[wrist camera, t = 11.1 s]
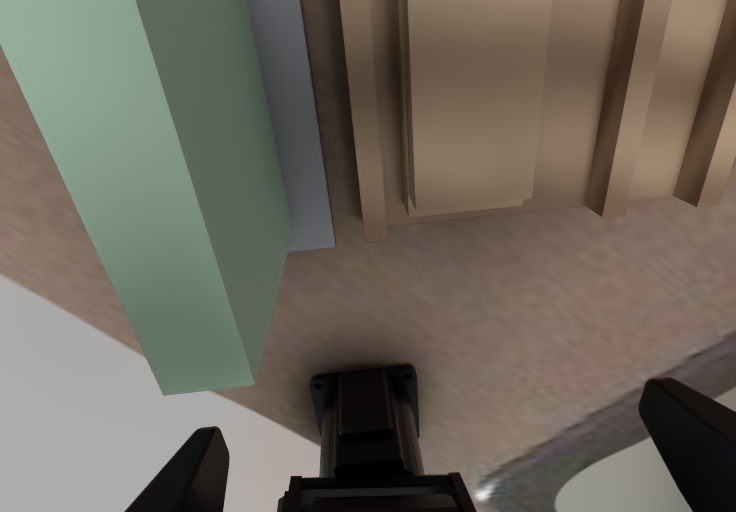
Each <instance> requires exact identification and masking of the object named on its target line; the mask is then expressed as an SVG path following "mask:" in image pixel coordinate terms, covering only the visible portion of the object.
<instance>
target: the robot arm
mask: <svg viewBox="0 0 736 512" xmlns="http://www.w3.org/2000/svg"><path fill="white" fill-rule="evenodd" d="M407 373H410V374H408V375H406V374H407ZM316 383H320V384H316ZM310 389H311V394H312V398H313V403H314V408H315V412H316V417H317V421H318V426H319V430H320V435H321V456H320V475H319V478H318V477H316V478H302V476H291V479H290V485H289V491H285V495H284V496H283V497H282V498H280V499H279V501H278V509H277V512H477V511H476V509H475V507H474V505H473V502H472V500H471V498H470V496H469V493H468V491H467V489H466V486H465V484H464V482H463V480H462V477H461V475H460V473H459V472H453V473H448V475H425V474H424V469H423V464H422V459H421V453H420V448H419V443H418V438H419V416H418V395H417V375H416V371H415V368H414V367H413V366H408V365H407V366H398V367H389V368H380V369H371V370H361V371H352V372H343V373H334V374H325V375H317V376H314V377H312V378H311V381H310ZM639 414H640V416H641V419H642V421H643V423H644V424H645V426H646V428H647V430H648V432H649V434H650V436H651V438H652V440H653V442H654V444H655V445H656V447H657V449H658V451H659V453H660V455H661V457H662V459H663V461H664V462H665V464H666V466H667V468H668V470H669V472H670V474H671V476H672V478H673V480H674V481H675V483H676V485H677V487H678V489H679V490H680V492H681V493H682V495H683V497H684V498H685V500H686V502H687V503H688V504H689V506H690V508H691V509H692V511H693V512H736V412H735V411H733V410H731V409H729V408H727V407H726V406H724V405H722V404H720V403H718V402H716V401H714V400H713V399H711V398H709V397H707V396H705V395H703V394H701V393H700V392H698V391H696V390H694V389H692V388H690V387H688V386H687V385H685V384H683V383H681V382H679V381H677V380H675V379H673V378H671V377H658V378H651V379H649V380H647V381H646V383H645V386H644V390H643V393H642V396H641V399H640V402H639ZM228 469H229V451H228V448H227V446H226V443H225V441H224V438H223V435H222V433H221V430H220V429H219V428H218V427H216V426H214V427H204V428H200V429H197V430H196V431H195V432H194V433H193V434H192V435H191V436H190V438H189V439H188V440H187V441H186V442H185V443H184V445H182V447H181V448H180V449H179V450H178V451H177V452H176V453H175V455H174V456H173V457H172V458H171V459H170V460H169V462H168V463H167V464H166V465H165V466H164V467H163V468H162V469H161V471H160V472H159V473H158V474H157V475H156V476H155V477H154V479H153V480H152V481H151V482H150V483H149V484H148V486H147V487H146V488H145V489H144V490H143V491H142V492H141V493H140V495H139V496H138V497H137V498H136V499H135V500H134V501H133V502H132V504H131V505H130V506H129V507H128V508H127V509H126V510H125V512H223V507H224V499H225V492H226V484H227V476H228Z"/></svg>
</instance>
